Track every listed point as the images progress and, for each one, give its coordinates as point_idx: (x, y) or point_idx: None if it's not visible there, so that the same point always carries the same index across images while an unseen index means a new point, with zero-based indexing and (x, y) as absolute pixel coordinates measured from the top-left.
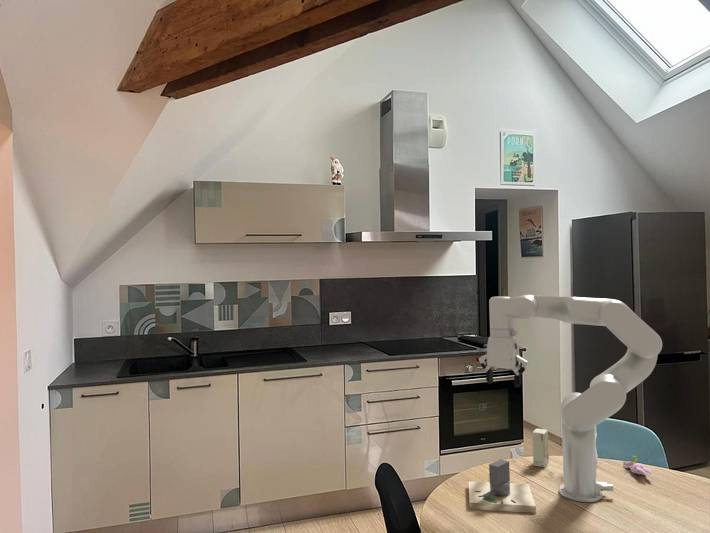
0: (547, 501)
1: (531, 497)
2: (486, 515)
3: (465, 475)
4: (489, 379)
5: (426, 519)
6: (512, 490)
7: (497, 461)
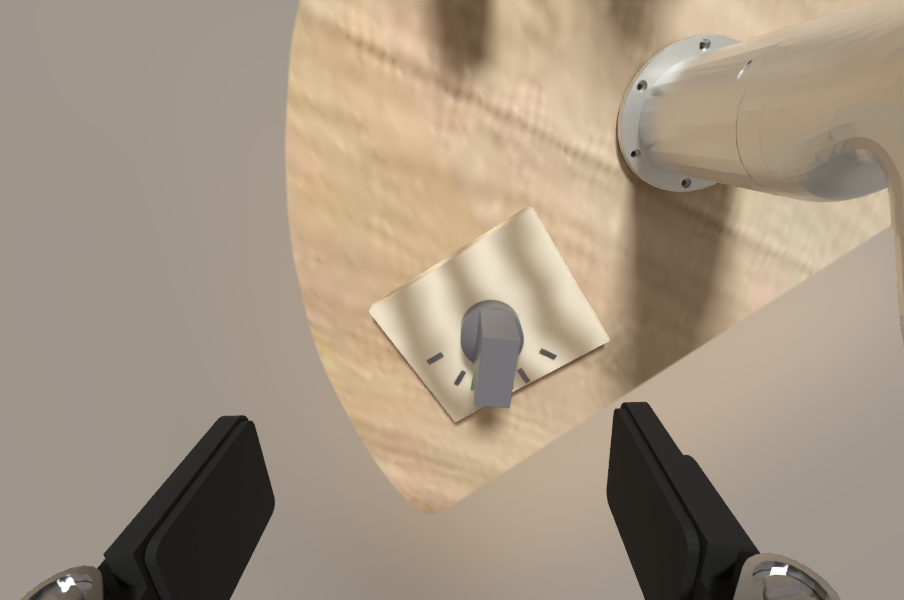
0: (608, 244)
1: (580, 298)
2: (505, 414)
3: (303, 228)
4: (249, 541)
5: (409, 500)
6: (512, 289)
7: (484, 365)
